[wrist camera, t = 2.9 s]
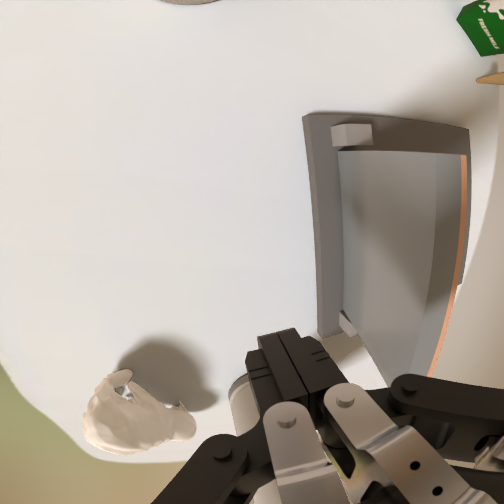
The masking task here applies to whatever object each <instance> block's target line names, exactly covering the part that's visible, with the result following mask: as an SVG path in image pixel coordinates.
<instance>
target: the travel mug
mask: <svg viewBox="0 0 504 504" xmlns="http://www.w3.org/2000/svg"><path fill="white" fill-rule="evenodd" d="M228 396H229V402H230V406H231V411H232V416H233V420H234V425H235V429H236V434H237V437H238V436H240V435H242V434H244V433H246V432H247V431H249V430H251V429H252V428H253V427H254V426H255V425H256V424H257V422H258V421H259V418H260V416H259V413H258V410H257V407H256V403H255V400H254V397H253V394H252V390H251V387H250V383H249V378H248V375H245V376H243V377H241V378H240V379H238V380H237V381H236V382H235V383H234V384H233V385H232V386H231V388H230V390H229V393H228ZM253 500H254V504H281V500H280V496H279V491H278V487H277V483H276V479H274V480H273V481H271V482H269V483H267V484H266V485H264V486H262V487H260V488H258V490H257V492H256V493H255V495H254V496H253Z"/></svg>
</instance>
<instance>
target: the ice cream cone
mask: <svg viewBox="0 0 504 504" xmlns="http://www.w3.org/2000/svg"><path fill="white" fill-rule="evenodd" d="M476 81H477V82H478V83H488V84H501V85H504V72H502V73H497V74H493V75H489V76H485V77H481V78H478V79H477V80H476Z"/></svg>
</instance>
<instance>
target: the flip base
mask: <svg viewBox="0 0 504 504" xmlns="http://www.w3.org/2000/svg"><path fill="white" fill-rule="evenodd" d="M302 121H303V129H304V136H305V144H306V152H307V161H308V170H309V180H310V190H311V201H312V213H313V226H314V241H315V259H316V281H317V321H318V333H319V335H320V336H321V337H322V339H323V338H326V337H329V336H332V335H336V334H339V333H342V332H345V333H346V334H347V335H348V336H349V337H353V336H356V335H358V333H357V331H356V330H355V328H354V326H353V325H352V323H351V321H350V320H349V318H348V316H347V315H346V313H345V311H344V310H343V291H344V249H343V218H342V200H341V185H340V173H339V162H338V152H337V151H355V150H392V151H419V152H435V153H448V154H459V155H466V158H467V209H466V225H465V236H464V245H463V253H462V260H461V267H460V273H459V279H458V284H457V285H459V284H461V283H462V279H463V273H464V267H465V261H466V254H467V246H468V238H469V227H470V214H471V152H470V138H469V129H466V128H461V127H456V126H450V125H445V124H439V123H433V122H426V121H418V120H410V119H402V118H391V117H379V116H362V115H306V116H304V117H302Z"/></svg>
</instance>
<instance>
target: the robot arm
mask: <svg viewBox="0 0 504 504" xmlns="http://www.w3.org/2000/svg"><path fill="white" fill-rule="evenodd" d="M161 1H163V2H167V3H172V4H182V5H191V4H202V3H208V2H212V1H216V0H161ZM257 340H258V347H259V349H258V350H254V351H249V352H248V353H247V356H246V360H245V364H246V369H247V373H248V378H249V383H250V387H251V390H252V394H253V397H254V400H255V403H256V407H257V410H258V413H259V416H260V418H259V421H258V422H257V424H256V425H255V426H254V427H253V428H252V429H251V430H249V431H247V432H246V433H244V434H242V435H240V436H238V437H236V436H234V435H230V434H219V435H214V436H212V437H210V438H208V439H206V440H205V441H204V442H203V443H202V444H201V445H200V447H199V448H198V449H197V450H196V452H195V453H194V454H193V455H192V457H191V458H190V459H189V460H188V461H187V463H186V464H185V465H184V466H183V468H182V469H181V470H180V471H179V472H178V473H177V475H176V476H175V477H174V478H173V480H172V481H171V482H170V483H169V484H168V485H167V486H166V488H165V489H164V490H163V491H162V492H161V493H160V494H159V495H158V496H157V498H156V499H155V500H154V501H153V502H152V503H151V504H249V503H250V501H251V500H252V498H253V496H254V495H255V493H256V492H257V490H258V488H260V487H262V486H264V485H266V484H267V483H269V482H271V481H273V480H274V479H276V483H277V487H278V491H279V496H280V500H281V504H350V502H349V500H348V497H347V495H346V492H345V490H344V487H343V485H342V482H341V480H340V477H339V475H340V476H341V478H342V479H343V481H344V483H345V486H346V491H347V494H348V496H349V498H350V499H351V501H352V503H353V504H504V389H497V388H489V387H482V386H475V385H469V384H463V383H457V382H452V381H446V380H441V379H436V378H431V377H426V376H422V375H417V374H409V373H408V374H402V375H400V376H398V377H396V378H395V379H394V380H393V381H392V383H391V386H390V387H388V388H382V389H376V390H364V389H363V388H362V387H360V386H358V385H356V384H353V383H349V382H348V381H347V379H346V378H345V376H344V375H343V374H342V372H341V371H340V370H339V368H338V367H337V365H336V364H335V363H334V361H333V360H332V358H330V356H329V354H328V353H327V352H326V351H325V349H324V347H323V346H322V345H321V343H320V342H319V341H317V340H316V339H314V338H312V337H311V336H307V337H304V338H301V337H300V335H299V334H298V332H297V331H296V329H295V328H290V329H286V330H282V331H278V332H276V333H271V334H266V335H262V336H258V337H257ZM316 430H318V432H319V434H320V435H321V443H320V440H319V438H318V435H317V432H316ZM324 451H325V453H326V454H327V456H328V458H329V459H330V460H331V462H332V463H329V462H328V461H327V458H326V456H325V453H324ZM443 458H444V459H450V460H457V461H464V462H473V463H475V466H474V469H470V468H465V467H458V466H453V465H449V464H448V463H447V462H446V461H445V460H444V459H443ZM338 473H339V475H338Z"/></svg>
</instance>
